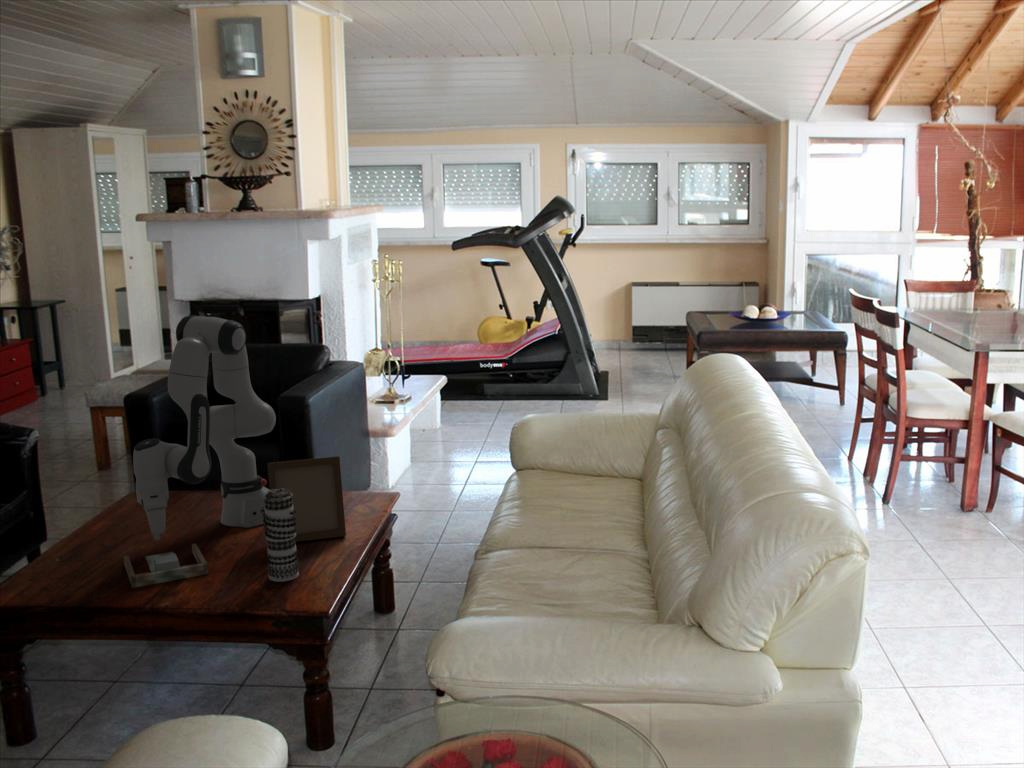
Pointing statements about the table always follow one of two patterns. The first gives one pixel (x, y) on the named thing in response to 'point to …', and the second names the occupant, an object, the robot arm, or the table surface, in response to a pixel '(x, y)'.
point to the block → (166, 562)
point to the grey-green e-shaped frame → (166, 575)
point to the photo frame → (312, 495)
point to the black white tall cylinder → (280, 535)
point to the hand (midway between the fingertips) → (157, 538)
